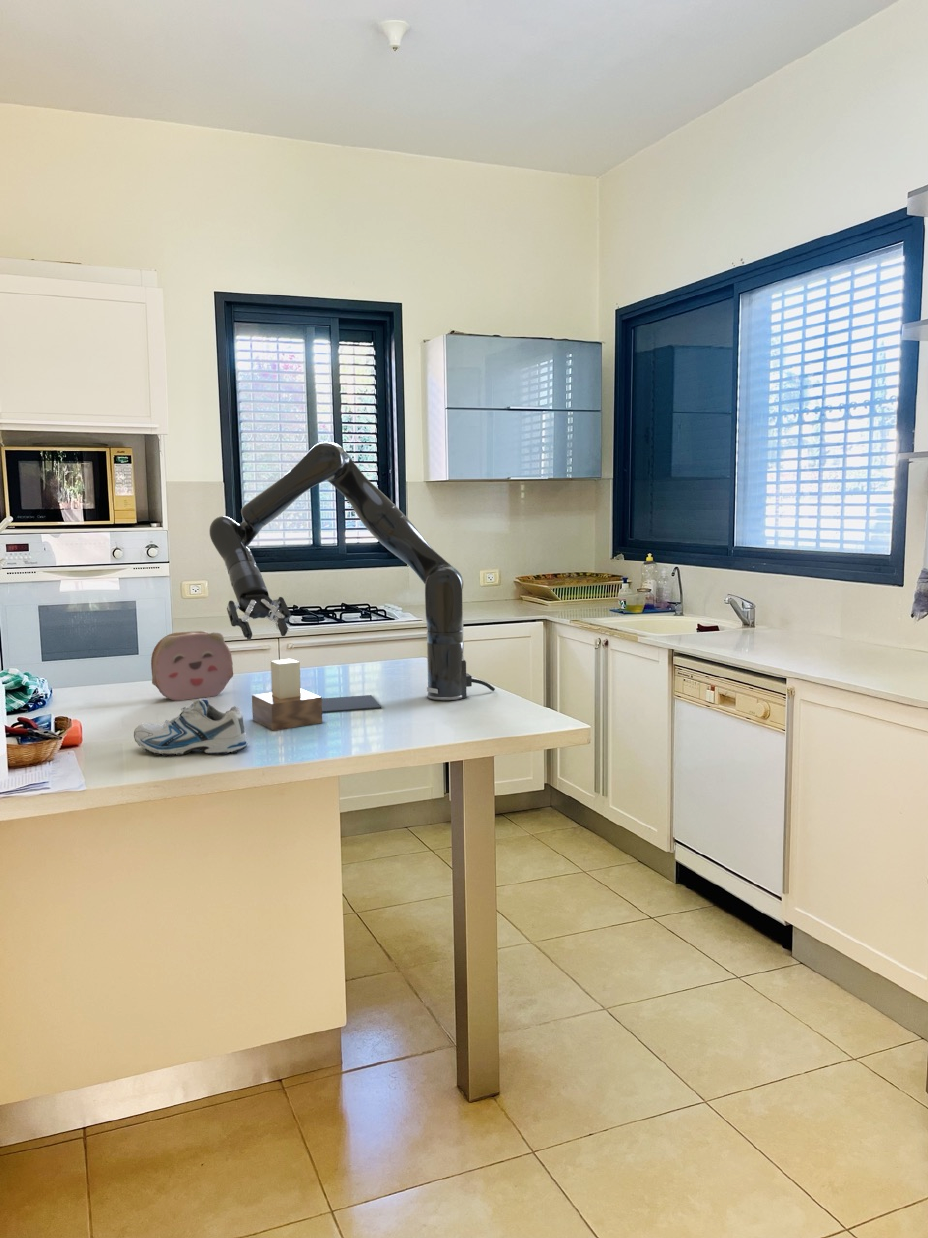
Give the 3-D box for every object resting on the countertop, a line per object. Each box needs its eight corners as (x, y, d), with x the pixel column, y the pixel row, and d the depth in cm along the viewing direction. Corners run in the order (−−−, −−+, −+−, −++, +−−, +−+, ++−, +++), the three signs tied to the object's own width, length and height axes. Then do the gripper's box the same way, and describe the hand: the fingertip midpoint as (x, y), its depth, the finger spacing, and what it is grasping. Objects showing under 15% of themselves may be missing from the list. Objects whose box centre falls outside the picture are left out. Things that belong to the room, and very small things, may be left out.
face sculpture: (156, 703, 234) (152, 638, 231) (150, 698, 239) (146, 634, 237) (235, 694, 244) (232, 631, 241) (227, 689, 250) (224, 628, 247)
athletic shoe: (140, 742, 195) (134, 691, 191) (252, 740, 197) (248, 689, 193) (128, 767, 186) (121, 714, 182) (245, 765, 188) (241, 712, 184)
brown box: (300, 712, 222) (300, 688, 221) (322, 722, 212) (321, 697, 211) (252, 720, 215) (251, 694, 215) (272, 730, 205) (271, 704, 205)
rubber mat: (371, 696, 239) (371, 695, 239) (381, 708, 226) (381, 706, 226) (308, 701, 235) (308, 699, 235) (314, 713, 221) (314, 711, 221)
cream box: (292, 692, 216) (290, 658, 215) (301, 696, 212) (299, 661, 211) (271, 695, 214) (270, 661, 213) (280, 699, 209) (279, 664, 208)
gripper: (222, 575, 221) (242, 628, 213) (279, 571, 229) (299, 623, 221) (216, 595, 226) (234, 648, 218) (271, 591, 234) (291, 642, 226)
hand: (267, 635), depth 220 cm, fingers open, 8 cm apart
